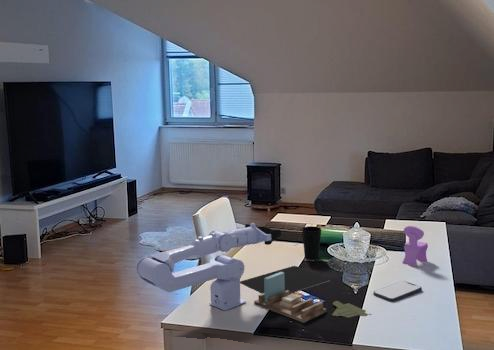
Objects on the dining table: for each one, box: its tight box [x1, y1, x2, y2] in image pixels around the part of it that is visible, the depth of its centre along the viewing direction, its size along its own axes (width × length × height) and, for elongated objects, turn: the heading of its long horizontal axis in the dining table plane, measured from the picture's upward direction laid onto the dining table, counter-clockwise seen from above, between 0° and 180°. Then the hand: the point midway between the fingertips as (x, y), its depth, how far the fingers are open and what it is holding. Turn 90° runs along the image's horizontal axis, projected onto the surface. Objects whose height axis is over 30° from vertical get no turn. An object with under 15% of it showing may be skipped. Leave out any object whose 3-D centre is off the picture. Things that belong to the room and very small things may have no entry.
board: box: [264, 272, 285, 302], centre depth 189 cm, size 8×2×8 cm, turn 134°
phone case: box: [373, 280, 423, 303], centre depth 195 cm, size 9×2×16 cm
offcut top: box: [282, 293, 302, 304], centre depth 185 cm, size 5×4×1 cm
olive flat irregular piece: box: [331, 300, 373, 318], centre depth 179 cm, size 11×18×1 cm, turn 36°
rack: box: [253, 290, 328, 324], centre depth 184 cm, size 11×21×3 cm, turn 44°
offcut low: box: [280, 299, 304, 309], centre depth 184 cm, size 6×4×1 cm
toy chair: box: [401, 225, 429, 267], centre depth 224 cm, size 8×9×15 cm
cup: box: [301, 226, 322, 261], centre depth 232 cm, size 8×8×12 cm
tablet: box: [240, 265, 331, 294], centre depth 208 cm, size 27×1×20 cm
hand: (272, 231), depth 198 cm, fingers open, 7 cm apart
